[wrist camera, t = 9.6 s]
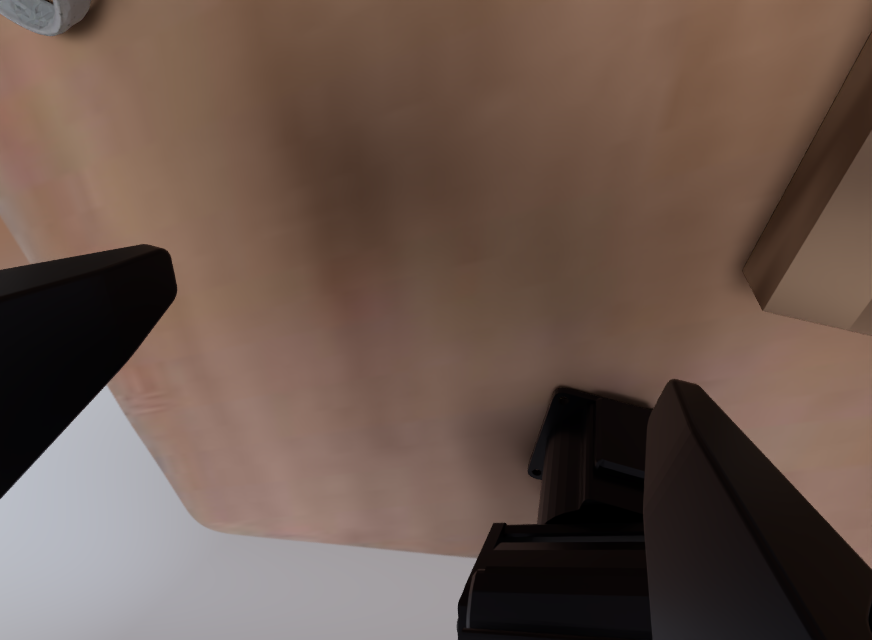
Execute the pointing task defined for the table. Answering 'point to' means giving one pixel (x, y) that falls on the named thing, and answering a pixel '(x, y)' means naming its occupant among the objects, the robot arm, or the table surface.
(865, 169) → the eye block
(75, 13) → the ceramic mug
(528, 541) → the robot arm
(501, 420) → the table surface
